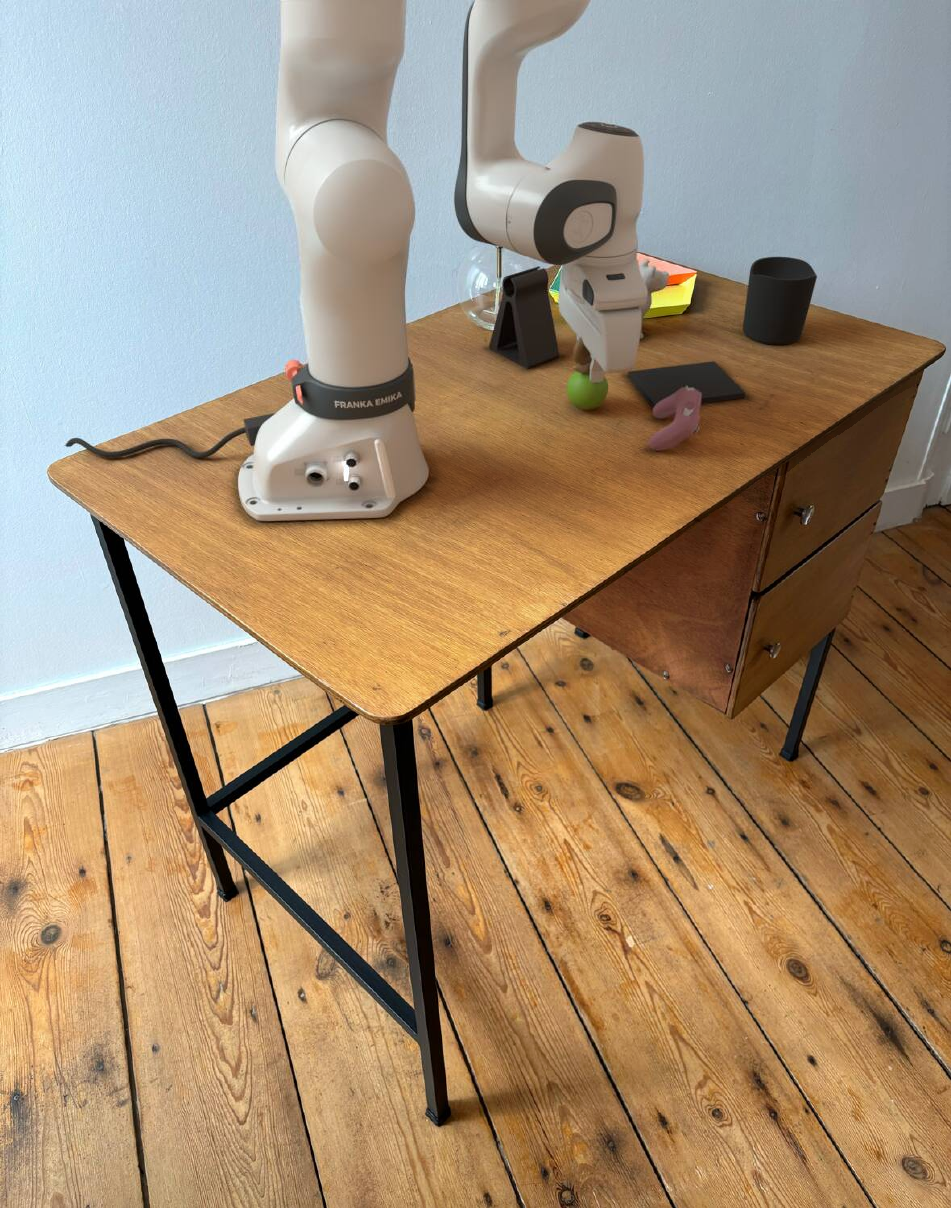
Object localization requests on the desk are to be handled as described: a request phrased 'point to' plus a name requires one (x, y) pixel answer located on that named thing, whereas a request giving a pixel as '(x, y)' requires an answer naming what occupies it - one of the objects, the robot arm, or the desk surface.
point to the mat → (686, 382)
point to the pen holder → (778, 299)
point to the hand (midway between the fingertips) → (591, 374)
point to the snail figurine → (585, 381)
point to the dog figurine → (651, 284)
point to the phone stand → (525, 320)
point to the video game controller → (677, 418)
